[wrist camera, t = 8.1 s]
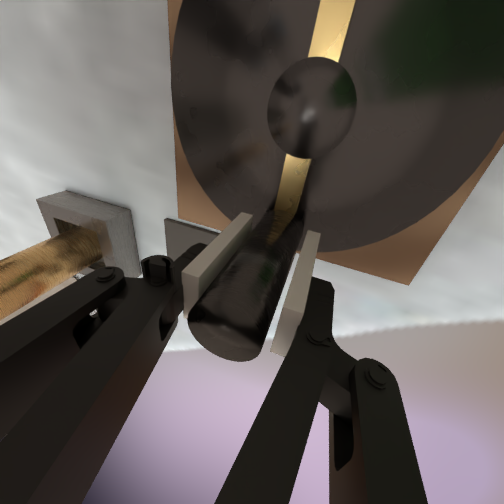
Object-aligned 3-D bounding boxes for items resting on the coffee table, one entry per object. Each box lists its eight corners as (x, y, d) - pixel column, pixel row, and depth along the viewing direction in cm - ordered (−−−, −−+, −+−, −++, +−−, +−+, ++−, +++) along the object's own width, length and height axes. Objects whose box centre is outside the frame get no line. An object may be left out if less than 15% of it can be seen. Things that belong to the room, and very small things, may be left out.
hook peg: (87, 214, 26) (-166, 317, 13) (116, 223, 25) (-122, 343, 12) (100, 259, 30) (-91, 375, 17) (126, 268, 29) (-53, 398, 16)
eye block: (65, 190, 25) (35, 199, 23) (130, 209, 24) (105, 221, 21) (86, 254, 30) (63, 266, 28) (141, 274, 28) (122, 289, 26)
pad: (166, 218, 23) (164, 219, 22) (254, 244, 21) (253, 246, 20) (172, 287, 28) (170, 289, 27) (243, 313, 26) (242, 315, 25)
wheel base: (172, -153, 11) (158, -174, 10) (710, -196, 7) (756, -234, 6) (184, 213, 22) (178, 218, 21) (405, 277, 18) (408, 285, 17)
